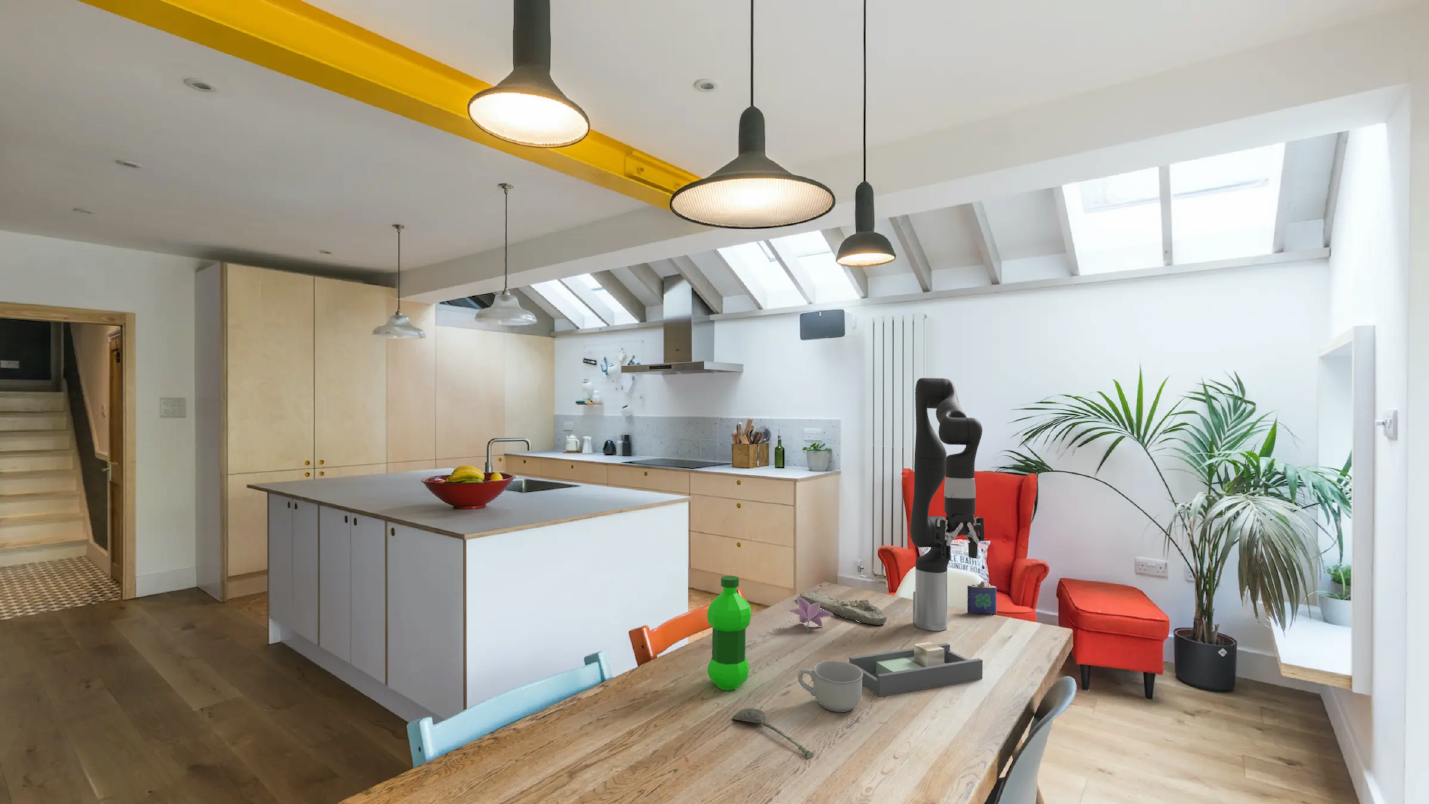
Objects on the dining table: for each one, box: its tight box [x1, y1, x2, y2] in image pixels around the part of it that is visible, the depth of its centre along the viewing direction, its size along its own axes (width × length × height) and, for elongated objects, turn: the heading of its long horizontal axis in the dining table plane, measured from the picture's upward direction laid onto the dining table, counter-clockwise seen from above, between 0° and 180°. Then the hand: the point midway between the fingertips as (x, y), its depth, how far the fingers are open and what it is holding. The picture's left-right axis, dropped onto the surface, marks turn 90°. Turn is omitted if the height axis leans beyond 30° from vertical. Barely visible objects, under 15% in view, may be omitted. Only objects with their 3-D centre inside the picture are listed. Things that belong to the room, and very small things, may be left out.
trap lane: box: [848, 643, 984, 697], centre depth 160 cm, size 12×30×4 cm, turn 112°
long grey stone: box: [798, 590, 888, 626], centre depth 213 cm, size 35×5×10 cm
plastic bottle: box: [706, 575, 752, 691], centre depth 153 cm, size 10×10×25 cm
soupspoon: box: [731, 707, 815, 760], centre depth 130 cm, size 22×3×7 cm
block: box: [913, 641, 944, 667], centre depth 161 cm, size 5×5×4 cm
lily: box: [788, 596, 835, 633], centre depth 194 cm, size 12×12×10 cm
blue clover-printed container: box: [966, 580, 998, 616], centre depth 213 cm, size 9×3×11 cm, turn 88°
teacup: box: [797, 659, 863, 713], centre depth 144 cm, size 14×11×8 cm
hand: (959, 558), depth 168 cm, fingers open, 8 cm apart
